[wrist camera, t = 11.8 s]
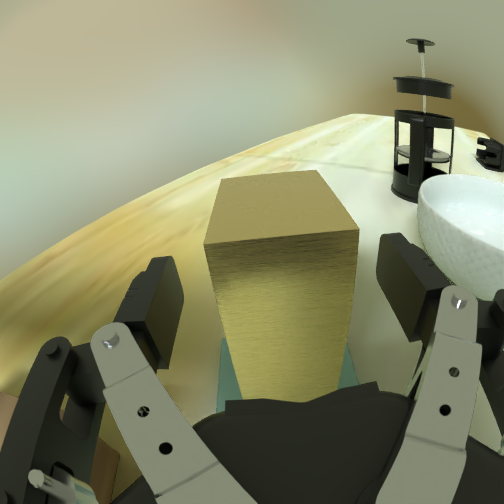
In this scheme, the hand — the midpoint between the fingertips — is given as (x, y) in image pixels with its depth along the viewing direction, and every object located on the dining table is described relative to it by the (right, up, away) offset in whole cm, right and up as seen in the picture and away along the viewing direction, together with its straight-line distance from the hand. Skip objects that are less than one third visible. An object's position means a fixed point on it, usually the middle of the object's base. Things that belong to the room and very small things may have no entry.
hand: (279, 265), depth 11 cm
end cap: (+57, +21, +39) cm, 73 cm away
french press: (+24, +9, +27) cm, 37 cm away
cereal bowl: (+21, -2, +10) cm, 23 cm away
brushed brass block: (+1, -7, +4) cm, 8 cm away
